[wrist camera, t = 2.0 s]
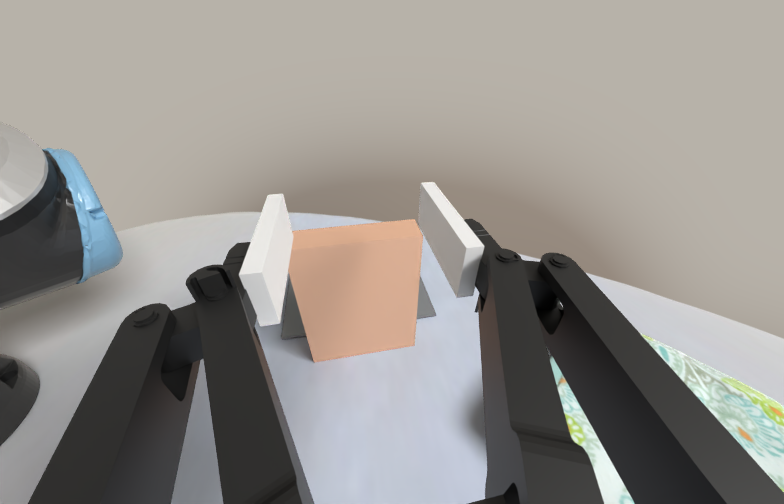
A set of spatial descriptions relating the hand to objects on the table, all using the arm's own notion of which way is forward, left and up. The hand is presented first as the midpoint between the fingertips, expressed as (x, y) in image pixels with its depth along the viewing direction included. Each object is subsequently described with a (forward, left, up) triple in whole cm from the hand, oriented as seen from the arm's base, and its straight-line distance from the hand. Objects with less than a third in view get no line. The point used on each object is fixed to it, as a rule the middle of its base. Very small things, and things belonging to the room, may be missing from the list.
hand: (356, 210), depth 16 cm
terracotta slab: (-1, +7, -22) cm, 23 cm away
